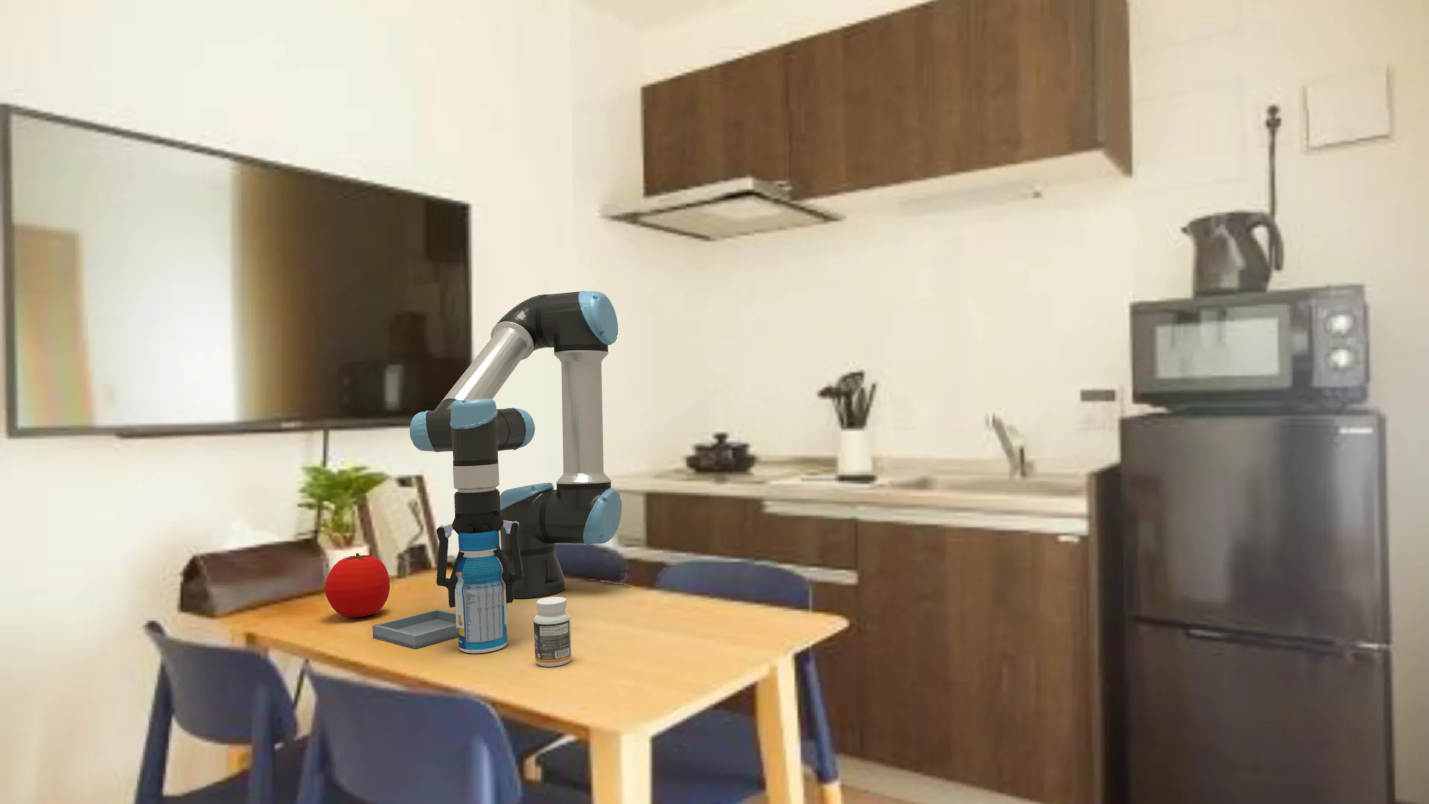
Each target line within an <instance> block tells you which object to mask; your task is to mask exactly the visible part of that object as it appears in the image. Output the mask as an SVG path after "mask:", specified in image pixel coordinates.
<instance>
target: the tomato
mask: <svg viewBox="0 0 1429 804" xmlns="http://www.w3.org/2000/svg"><path fill="white" fill-rule="evenodd" d="M382 561H383V560H382ZM382 561H381V559H379V558H378V557H377V556H376V557H375V556H374V555H372V554H371V555H370V554H369V555H368V554H363V555H362V554H360V553H359V552H356V553H355V555H348V556H346V557H345V556H343V557H342V559H340V560H338V561H337V562H336V563H335V564H334V565H333V566H332V568H331V569H330V571H329V572H328V574H327V577H326V579H325V583H324V592H325V597H326V599H327V601H328V603H329V605H330V607H331V608H332V609H333V610H334V611H335V612H336V613H337V614H338V615H340V616H342V617H344V618H348V619H355V618H361V617H362V618H363V617H367V616H371V615H374V614H376V613H377V612H379V611H380V610H381V609H383V607H384V606H385V605H386V602H387V600H388V598H389V595H390V589H391V583H390V582H391V581H390V575H389V572H388V569H387V567H386V566H385V564H384V562H382Z"/></svg>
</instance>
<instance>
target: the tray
mask: <svg viewBox="0 0 1429 804" xmlns="http://www.w3.org/2000/svg"><path fill="white" fill-rule="evenodd" d="M372 638H373V639H376V638H377V640H380V641H383V642H387V641H388V643H392V644H395V645H398V644H399V645H400V646H402V647H403V646H404V647H406V648H410V649H413V650H417V649H421V648H424V647H427V646H431V645H435V644H438V643H439V644H440V643H441V642H445V641H448V640H452V639H453V640H454V639H457V638H459V628H456V612H453V611H448V610H443V609H440V608H438V609H437V608H436V609H433V610H429V611H425V612H421V613H418V614H417V613H416V614H413V615H408V616H404V617H401V618H397V619H393V620H388V621H385V622H381V623H377V624H373V625H372Z"/></svg>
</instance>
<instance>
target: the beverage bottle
mask: <svg viewBox="0 0 1429 804" xmlns="http://www.w3.org/2000/svg"><path fill="white" fill-rule="evenodd" d="M457 535H458V534H457ZM457 538H458V539H457V540H458V541H457V542H458V549H459V548H460V552H463V553H464V556H463V557H462V559H461V560H460V562H459V564H458V566H457V569H456V576H457V578H458V580H457V582H456V585H455V589H456V594H457V598H458V617H459V637H458V643H457V645H458V648H459V651H461V652H463V653H467V654H484V653H485V654H486V653H491V652H496V651H499V650H501V649H503V648H505V647H506V646H507V645H508V643H509V642H508V641H509V640H508V639H509V636H508V630H507V627H508V626H507V624H505V622H504V586H505V587H506V585H505V581H504V579H503V577H502V573H503V567H502V564H501V562H500V561H499V559H498V558H497V556H496V555H495V554H494V553H493V550H497V546H498V547H499V546H500V531H499V532H497V531H495V530H493V531H489V532H481V533H464V532H461V533H459V535H458V536H457ZM460 545H461V547H460ZM496 545H497V546H496Z"/></svg>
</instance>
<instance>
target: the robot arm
mask: <svg viewBox="0 0 1429 804" xmlns="http://www.w3.org/2000/svg"><path fill="white" fill-rule="evenodd" d="M618 335H619V322H618V318H617V313H616V311H615V308H614V305H613V303H612V301H611V300H610V298H609V297H608V296H607V295H606V294H605V293H604V292H601V291H597V290H595V291H594V290H593V291H592V290H589V291H588V290H580V291H571V292H561V293H552V294H551V293H550V294H548V293H545V294H544V293H543V294H537V295H534V296H532V297H529V298H527V299H525V300H523V301H522V302H520V303H518V304H517V305H516V306H514V307H513V308H511V309H510V310H509V311H507V313H506V314H504V315H503V316H502V317H501V318H500V319H499V320H498V321H497V322H496V324H495V325H494V326H493V328H492V329H491V333H490V339H489V341H488V342H487V343H486V344H485V346H484V347H483V348H482V350H481V351H479V353H478V355H477V356H476V357H475V359H473V361H472V362H471V363H470V365H469V366H468V367H467V368H466V370H464V373H463V374H461V376H460V377H459V378H458V380H457V381H456V382H455V384H454V385H453V386H452V388H451V389H450V390H449V391H448V392H447V394H445V396H444V398H443V399H442V400H441V401H440V403H439V404H438V405H437V407H436V408H434V410H430V409H429V410H428V409H427V410H425V411H420V412H418V413H416V414H415V415H414V416H413V417H412V419H411V421H410V425H409V438H410V440H411V442H412V444H413V446H414V447H415V448H416V449H417V450H419V451H421V452H433V453H445V452H452V459H453V460H452V474H453V475H452V478H453V479H452V480H453V488H454V489H455V490H457V491H455V493H454V494H453V498H454V499H453V500H454V501H453V502H454V503H453V504H454V519H453V521H452V523H450V524H449V523H448V524H447V525H442V524H441V525H440V526H438V527H437V528H436V531H435V532H436V536H437V540H438V552H437V554H438V555H437V556H438V557H437V569H436V571H437V572H436V580H435V581H436V585H437V586H438V587H444V588H446V589H447V594H448V596H447V597H448V606H449V608H450V609H451V608H455V613H456V628H459V617H458V598H457V594H456V589H455V585H456V582H457V580H458V578H457V576H456V569H457V566H458V564H459V562H460V560H461V559H462V557H463V556H464V553H463V552H460V548H459V547H458V553H457V556H456V559H455V561H454V565H453V568H452V571H451V574H450V577H447V571H448V570H447V569H448V568H447V566H448V553H449V538H451V536H452V531H454V532H455V533H456V535H459V533H461V532H464V533H481V532H489V531H493V530H495V531H497V532H499V537H500V545H499V547H498V546H497V545H496V546H497V550H493V553H494V554H495V555H496V556H497V558H498V559H499V561H500V562H501V564H502V567H503V573H502V577H503V579H504V581H505V585H506V587H505V586H504V622H505V624H506V625H507V624H508V621H509V616H508V615H509V614H508V611H509V610H508V604H512V603H513V602H514V599H530V598H531V599H532V598H540V597H546V596H551V595H554V594H559V593H560V592H562V591H563V590H565V589H566V580H565V575H564V572H563V570H562V568H561V564H560V561H559V560H558V556H557V553H556V544H557V545H558V544H559V545H561V544H562V545H564V544H565V545H586V546H590V545H599V544H600V545H601V544H606V543H609V542H610V540H612V539H613V538H614V536H615V535H616V532H617V531H618V529H619V526H620V523H621V518H622V512H623V505H622V504H623V503H622V498H621V494H620V492H619V491H618V490H617V489H615V488H613V487H612V480H611V478H610V477H609V476H608V475H607V474H606V473H605V470H604V468H605V467H604V431H603V430H604V426H603V425H604V423H603V422H604V421H603V420H604V419H603V417H604V416H603V376H602V362H603V360H604V359H605V358H606V357H607V356H608V355H609V346H611V345H613V344H614V343H616V341H617V339H618V337H617V336H618ZM546 348H548V349H549V348H550V349H551V348H553V355H554V357H556V358H557V359H558V360H559V361H560V364H561V365H560V366H561V368H560V369H561V413H562V415H561V417H562V422H561V423H562V424H561V425H562V466H563V467H562V469H563V473H562V475H561V476H560V477H559V478H558V479H557V481H556V482H555V483H556V484H555V485H556V489H555V487H554V484H553V483H552V482H542V483H537V484H531V485H523V486H518V487H513V488H509V489H505V490H504V491H501V492H500V490H499V489H498V488H497V487H498V486H500V470H499V467H500V466H499V452H502V451H511V450H512V451H517V450H518V449H521V448H524V447H526V446H527V445H529V444H530V443H531V442H532V440H533V438H534V436H535V432H536V425H535V421H534V419H533V417H532V415H531V414H530V413H528V412H527V411H526V410H525V409H522V408H515V407H506V408H497V404H496V401H495V400H494V398H495V397H496V395H497V394H498V392H499V391H500V389H502V387H503V385H504V384H505V383H506V381H507V380H508V379H509V377H510V376H511V374H512V373H513V372H514V370H515V369H516V368H517V366H518V365H519V363H520V362H521V361H524V360H526V359H528V358H529V357H530V356H531V355H532V353H533V352H534V351H537V350H541V349H546ZM460 547H461V545H460Z"/></svg>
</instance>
